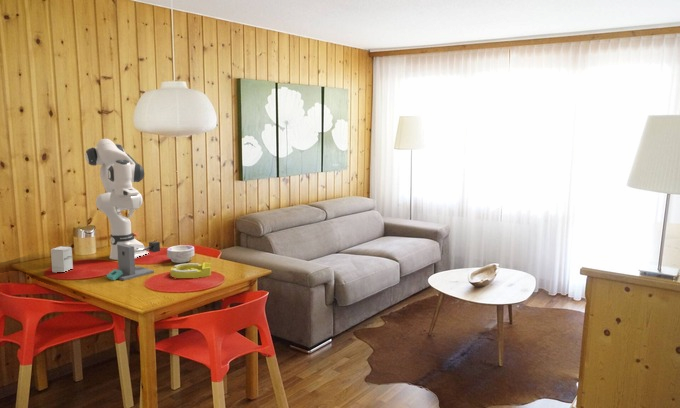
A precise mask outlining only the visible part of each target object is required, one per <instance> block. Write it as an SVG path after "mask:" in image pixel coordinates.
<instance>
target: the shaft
mask: <svg viewBox="0 0 680 408" xmlns="http://www.w3.org/2000/svg"><path fill="white" fill-rule="evenodd" d="M160 242H161V241H156V240H154V241H149V242H148V246H144V248H140V249H135V250H134V253H135V252H140V251H144V250H146V251H148V252H149V253H150V252H151V253H157V252H160V251H161V243H160Z"/></svg>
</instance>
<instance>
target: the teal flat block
mask: <svg viewBox="0 0 680 408" xmlns="http://www.w3.org/2000/svg"><path fill="white" fill-rule="evenodd" d="M108 273H109V274H108ZM108 273H107V274H106V277H107V279H108V280H112V281H116V280H118V279H117V278H118V277H120V276H121V275H122V274H123V273H122V271H121V270H119V269H117V268H114V269H112V271H110V272H108Z"/></svg>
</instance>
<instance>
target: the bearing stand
mask: <svg viewBox="0 0 680 408" xmlns="http://www.w3.org/2000/svg"><path fill="white" fill-rule="evenodd" d="M117 250H118V260H117V263H118V264H117V265H118V269H117V270H121V271H122V273H123V274H122V275H121V276H120V277H118V278H117V279H116V280H120V281H127V280H132V279H135V278H139V277H142V276H146V275H150V274H154V273H155V270H154V269H150V268H147V267H142V266H139V265H136V262H135V261H136V260H135V259H136V258H135V256H134V246H130V245H126V244H119V245H117ZM109 273H110V272H108V273H107V274H109Z"/></svg>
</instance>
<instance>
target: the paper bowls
mask: <svg viewBox="0 0 680 408" xmlns="http://www.w3.org/2000/svg"><path fill="white" fill-rule="evenodd" d="M166 256H167V258H168V259H170V260H171V262H173V263H176V264H185V263H188V262H190V261H191V260H192V257H194V256H195V246H193V245H189V244H184V245H183V244H180V245H174V246H170V247H168V248H167V249H166Z"/></svg>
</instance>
